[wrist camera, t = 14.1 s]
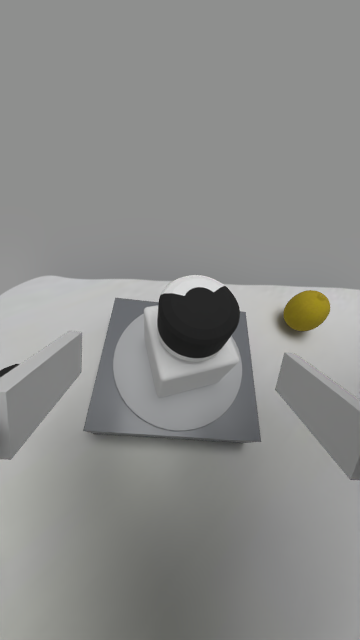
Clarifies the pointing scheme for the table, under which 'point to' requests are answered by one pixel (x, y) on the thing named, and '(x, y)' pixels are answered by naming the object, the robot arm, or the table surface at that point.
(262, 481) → the table surface
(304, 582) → the table surface
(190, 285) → the medicine bottle
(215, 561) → the table surface
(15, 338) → the table surface
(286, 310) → the lemon
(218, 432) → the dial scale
